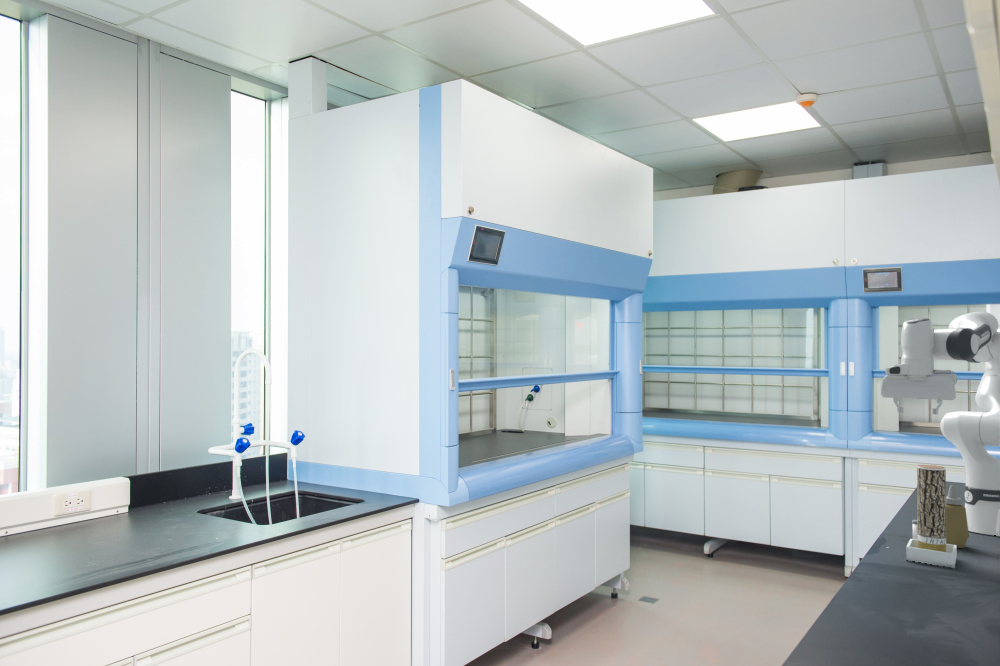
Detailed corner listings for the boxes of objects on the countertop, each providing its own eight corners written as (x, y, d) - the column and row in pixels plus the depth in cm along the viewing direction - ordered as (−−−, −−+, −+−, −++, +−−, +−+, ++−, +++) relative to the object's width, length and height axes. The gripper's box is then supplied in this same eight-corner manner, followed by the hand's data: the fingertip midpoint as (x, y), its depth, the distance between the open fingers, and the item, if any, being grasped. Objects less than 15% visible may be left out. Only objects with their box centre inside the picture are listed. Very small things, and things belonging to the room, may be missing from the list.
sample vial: (920, 539, 214) (920, 519, 214) (926, 541, 211) (926, 522, 211) (909, 538, 214) (909, 519, 214) (916, 541, 211) (916, 521, 211)
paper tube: (912, 552, 195) (911, 464, 196) (934, 552, 195) (934, 464, 196) (928, 559, 188) (928, 468, 189) (952, 559, 188) (951, 468, 189)
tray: (910, 551, 199) (910, 538, 199) (956, 558, 192) (956, 545, 192) (906, 560, 190) (906, 546, 190) (954, 568, 183) (954, 554, 183)
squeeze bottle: (974, 550, 201) (973, 489, 202) (943, 548, 203) (943, 487, 204) (961, 543, 209) (961, 484, 210) (932, 541, 211) (932, 482, 212)
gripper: (957, 370, 212) (957, 414, 212) (882, 368, 224) (882, 411, 223) (956, 370, 207) (957, 416, 206) (879, 368, 219) (880, 412, 218)
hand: (917, 413), depth 215 cm, fingers open, 8 cm apart
